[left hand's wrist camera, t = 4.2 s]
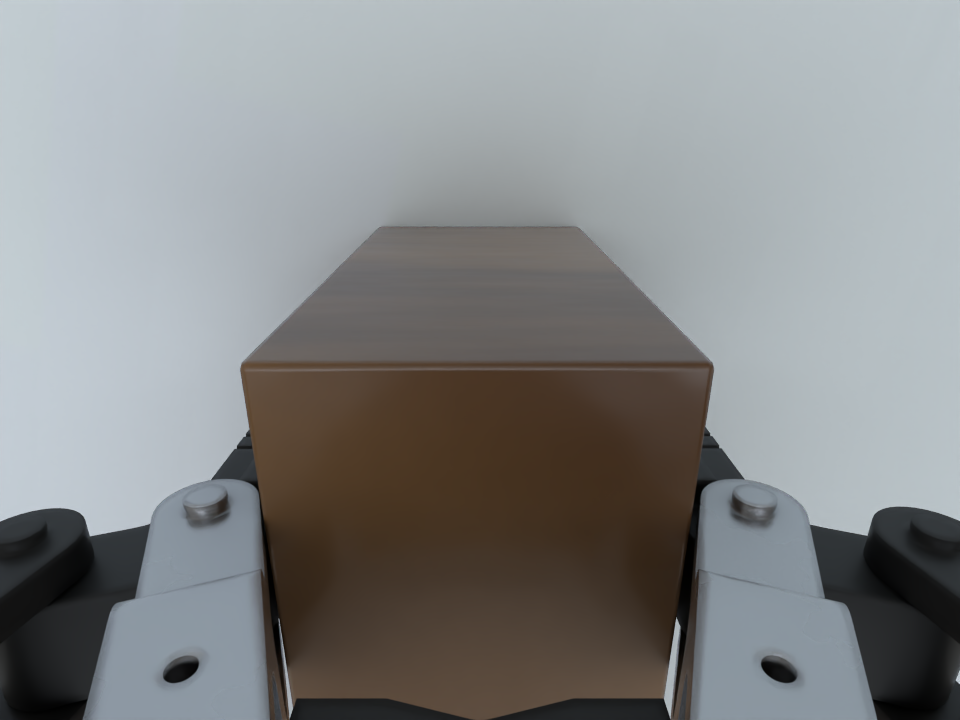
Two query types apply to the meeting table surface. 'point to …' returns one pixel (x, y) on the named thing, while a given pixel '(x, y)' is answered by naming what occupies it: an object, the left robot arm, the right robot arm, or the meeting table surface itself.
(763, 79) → the meeting table surface
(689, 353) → the bar
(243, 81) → the meeting table surface
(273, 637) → the left robot arm
